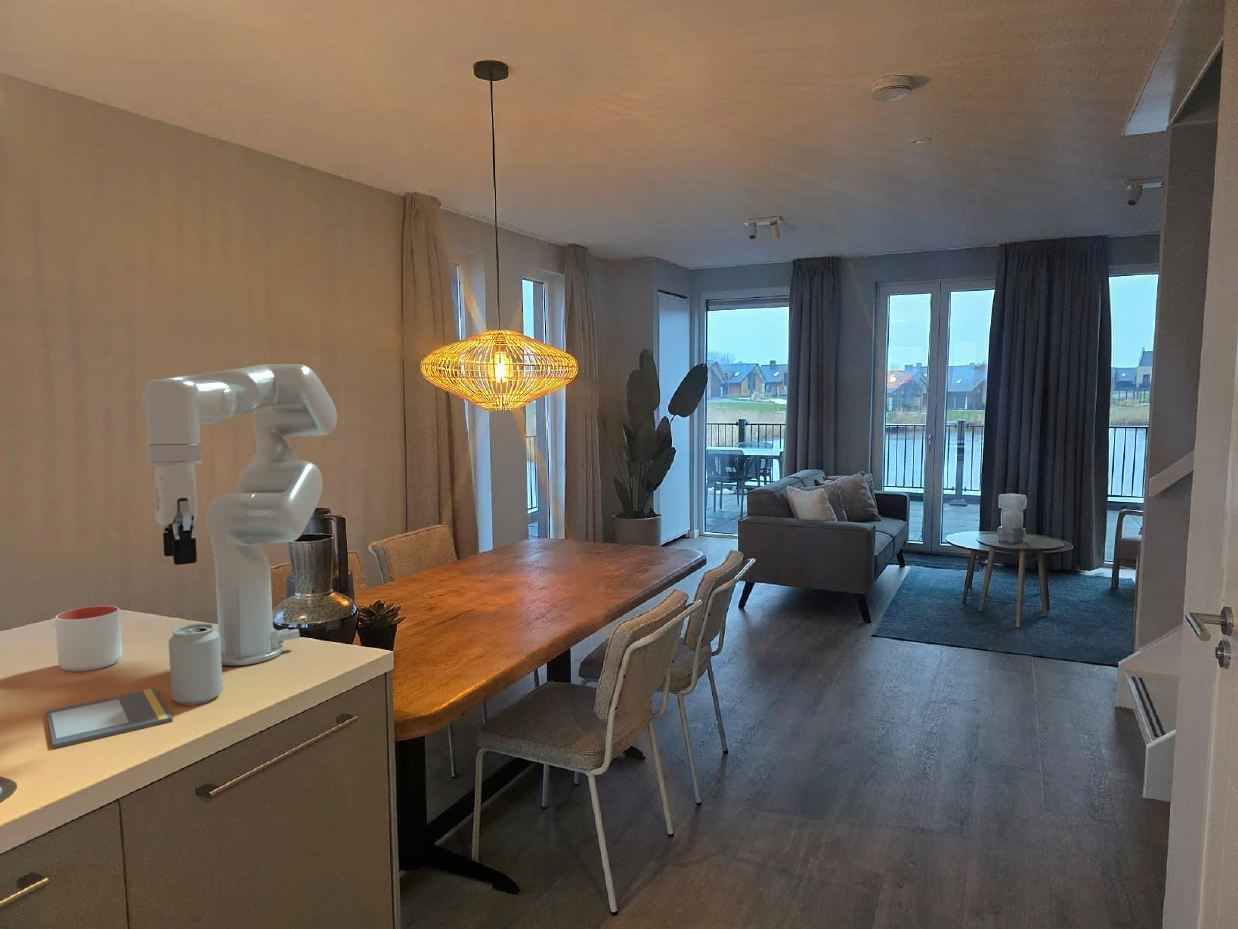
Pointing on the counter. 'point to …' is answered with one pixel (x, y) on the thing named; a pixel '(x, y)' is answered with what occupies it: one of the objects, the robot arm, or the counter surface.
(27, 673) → the counter surface
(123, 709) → the mat
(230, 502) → the robot arm
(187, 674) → the can
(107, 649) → the cup
